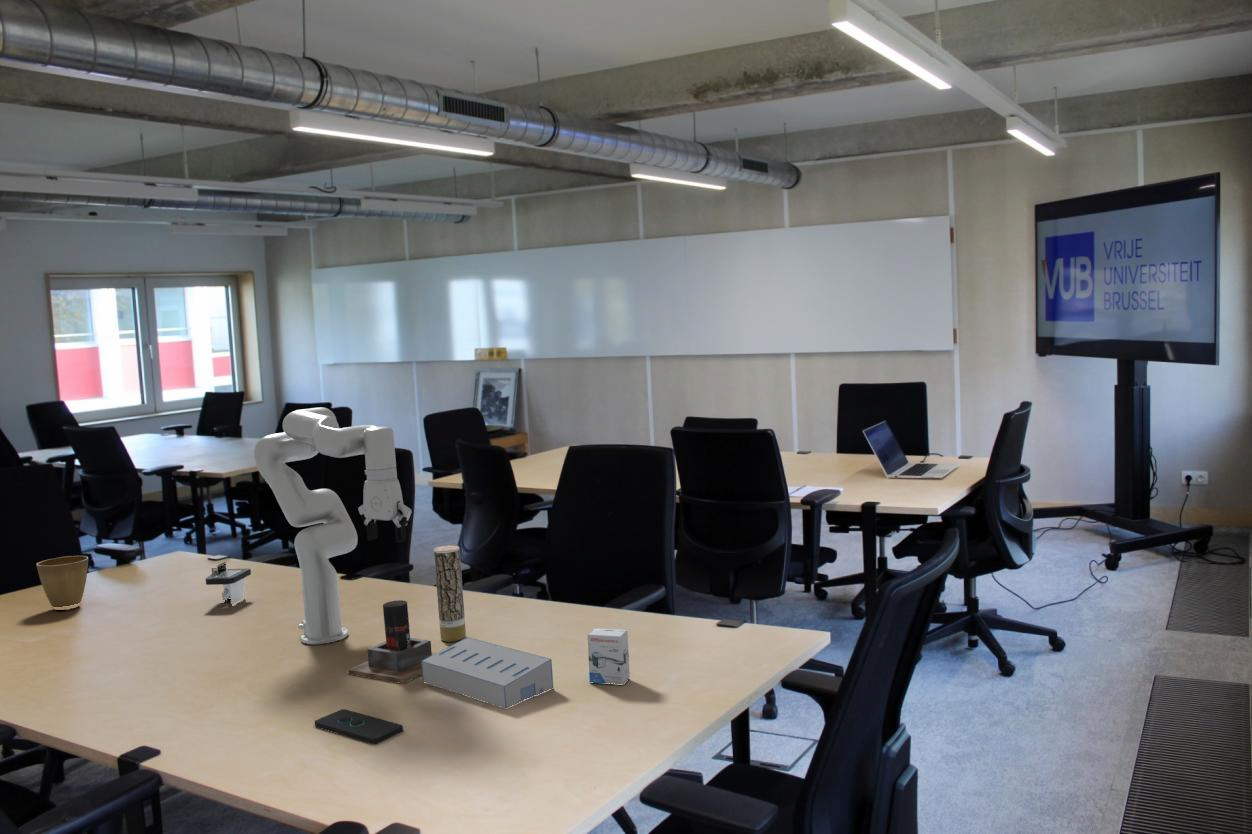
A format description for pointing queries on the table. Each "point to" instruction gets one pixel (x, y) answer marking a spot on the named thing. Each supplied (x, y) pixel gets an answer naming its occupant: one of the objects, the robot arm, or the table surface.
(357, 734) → the smart home device
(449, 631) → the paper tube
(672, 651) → the table surface
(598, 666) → the ink box
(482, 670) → the warehouse
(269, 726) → the table surface
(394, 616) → the deodorant
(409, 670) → the holder
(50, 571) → the plant pot
